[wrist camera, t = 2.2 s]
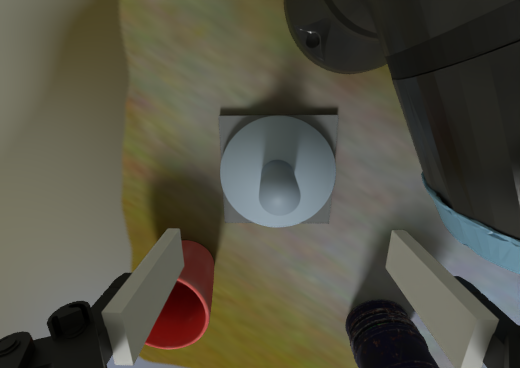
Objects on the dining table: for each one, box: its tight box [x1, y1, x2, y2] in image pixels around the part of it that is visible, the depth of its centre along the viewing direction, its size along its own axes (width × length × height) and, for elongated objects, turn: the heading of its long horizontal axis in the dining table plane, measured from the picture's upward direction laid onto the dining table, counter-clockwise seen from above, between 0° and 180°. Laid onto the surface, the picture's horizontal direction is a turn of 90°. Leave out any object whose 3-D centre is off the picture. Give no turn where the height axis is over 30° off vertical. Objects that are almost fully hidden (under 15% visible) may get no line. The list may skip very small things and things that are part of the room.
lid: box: [220, 116, 336, 227], centre depth 28 cm, size 14×14×8 cm
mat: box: [219, 115, 338, 224], centre depth 32 cm, size 14×14×1 cm
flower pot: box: [144, 240, 214, 349], centre depth 33 cm, size 11×11×10 cm
